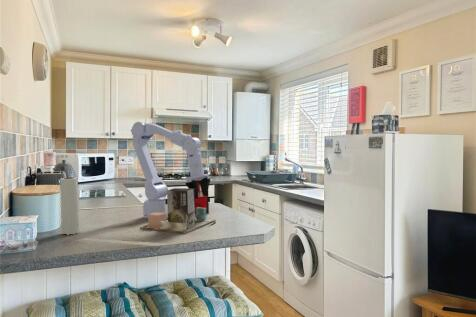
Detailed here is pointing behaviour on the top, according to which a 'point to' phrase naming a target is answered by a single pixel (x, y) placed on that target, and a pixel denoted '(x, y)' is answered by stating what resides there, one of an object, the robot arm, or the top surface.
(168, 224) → the frame
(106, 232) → the top surface
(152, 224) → the terracotta cube
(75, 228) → the tall grey block
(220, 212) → the top surface
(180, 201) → the coffee box
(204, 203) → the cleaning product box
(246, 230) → the top surface
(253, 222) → the top surface
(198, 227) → the lane frame
